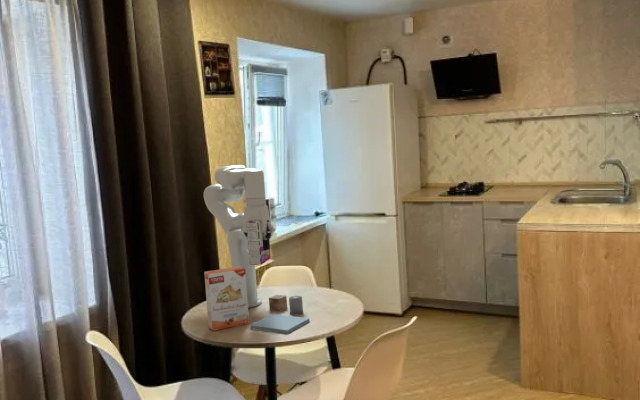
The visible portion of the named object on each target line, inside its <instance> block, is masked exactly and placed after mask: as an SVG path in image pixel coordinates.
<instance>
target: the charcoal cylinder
mask: <svg viewBox="0 0 640 400" xmlns="http://www.w3.org/2000/svg"><path fill="white" fill-rule="evenodd" d="M288 303H289V314H290V315H293V316H295V315H301V314H303V313H304V307H303V296H302V295H293V296H289V297H288Z"/></svg>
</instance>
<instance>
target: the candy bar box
mask: <svg viewBox="0 0 640 400" xmlns="http://www.w3.org/2000/svg"><path fill="white" fill-rule="evenodd" d="M246 223H247V235H248V247H249V251H248V254H249V259H250V265H255V266H259V265H263V264H265V263H266V262H267V261H269V260H270V259H271V249H269V250H266V251H264V250H263V240H264V238H263V235H262V233H261V228H260V221H253V220H252V221H248V222H246ZM265 234H266V233H265Z"/></svg>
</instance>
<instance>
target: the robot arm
mask: <svg viewBox="0 0 640 400" xmlns="http://www.w3.org/2000/svg"><path fill="white" fill-rule="evenodd" d="M214 180H215V182H216V183H214V184H211V185H208V186H207V187H205V189H204V191H203V200H204V203H205V204H204V205H206V208H207V209H208V211H209V212H210V213H211V214H212V215H213V216H214V218H216V219H217V221H218V223H219V226H220V227H221V228H222V230H223V231H224V233H225V234H226V241H227V247H228V250H229V255H230V264H231V265H230V266H231V268H232V267H239V266H240V267H242V268H244V269H245V272H246V286H247V301H248V309H249V308H254V307H257V306H260V305H261V304H263V303H262V299H261V298H259V297H258V287H257V275H256V265H250V259H249V247H248V235H247V223H246V222H248V221H252V220H253V221H260V228H261V233H262V235H263V238H264V240H263V250H264V251H266V250H269V249H270V248H271V247H270V246H271V245H270V243H271V238H272V236H273V234H274V233H275V232H276V228H275V227H274V226H273V225H272V223H271V217H270V211H269V207H268V205H267V201H266V200H267V199H266V187H265V186H266V185H265V173H264V170H262V169H257V168H247V167H246V166H245V165H243V164H239V165H226V166H220V167H218V169H217V170H216V171H214ZM244 197H245V199H244V200H243V198H244ZM241 200H243V202H244V204H245V206H244V207H243V212H236V209H235V208H234V207H233V206H232V205H230V204H228V203H233V202H238V201H241ZM265 233H266V234H265ZM270 250H271V249H270Z"/></svg>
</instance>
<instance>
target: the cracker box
mask: <svg viewBox="0 0 640 400" xmlns="http://www.w3.org/2000/svg"><path fill="white" fill-rule="evenodd" d="M203 274H204V285H205V298H206V309H207V310H206V311H207V323H208V327H209V329H210V330H211V331H213V332H214V331H220V330H223V329H228V328H233V327H237V326H244V325H248V324H249V323H250V319H249V318H250V317H249V308H248V301H247V286H246V272H245V269H244V268H242V267H240V266H239V267H232V266H231V267H227V268H220V269H215V270H207V271H204V273H203Z"/></svg>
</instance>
